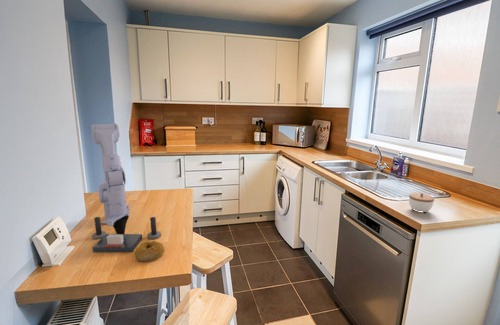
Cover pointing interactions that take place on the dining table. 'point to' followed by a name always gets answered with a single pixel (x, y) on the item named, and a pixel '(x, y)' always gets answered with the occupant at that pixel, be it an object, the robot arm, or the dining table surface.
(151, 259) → the bagel
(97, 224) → the cable post
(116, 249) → the breaker block
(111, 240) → the breaker paddle
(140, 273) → the dining table surface
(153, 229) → the cable post
